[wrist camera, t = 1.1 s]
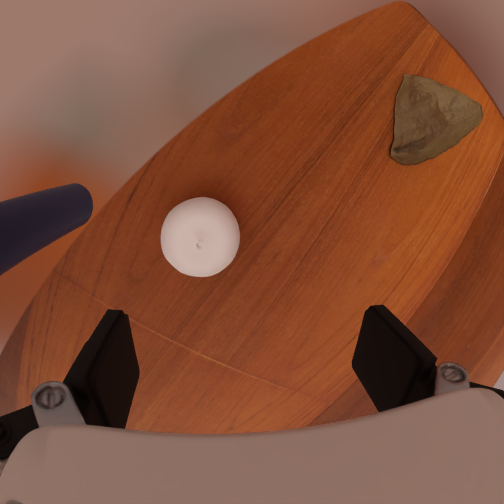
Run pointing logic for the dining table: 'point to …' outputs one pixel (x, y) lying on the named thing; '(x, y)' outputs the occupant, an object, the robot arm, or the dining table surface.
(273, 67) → the dining table surface
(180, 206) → the apple
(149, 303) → the dining table surface
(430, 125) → the rock
